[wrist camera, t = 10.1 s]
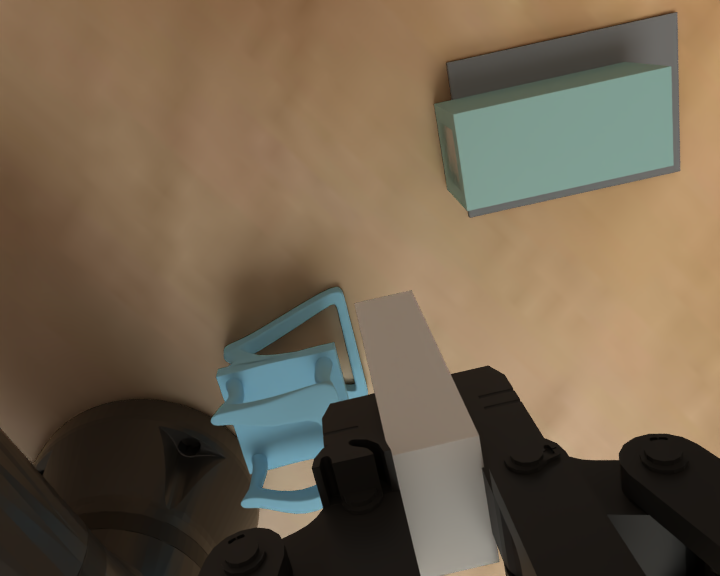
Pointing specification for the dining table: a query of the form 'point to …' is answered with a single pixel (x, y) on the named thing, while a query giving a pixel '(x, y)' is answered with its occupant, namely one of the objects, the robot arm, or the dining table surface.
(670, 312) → the dining table surface
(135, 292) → the dining table surface
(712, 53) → the dining table surface
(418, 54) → the dining table surface
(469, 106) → the teal block
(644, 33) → the slate mat
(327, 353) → the chair
